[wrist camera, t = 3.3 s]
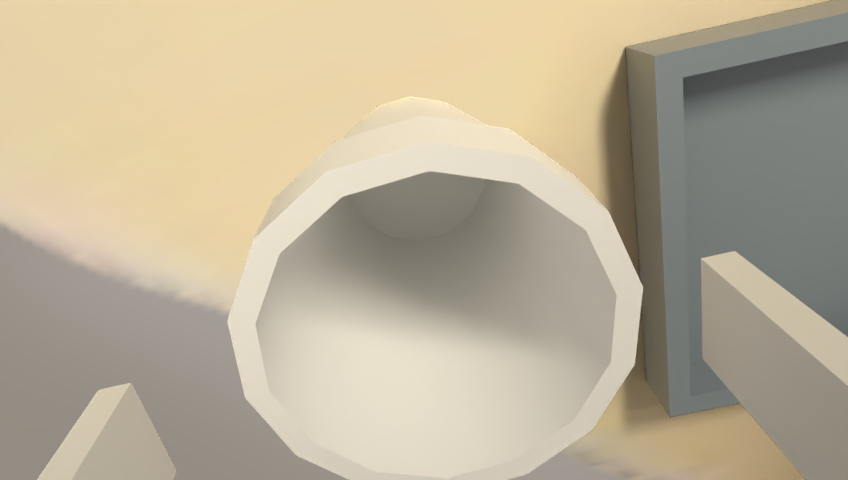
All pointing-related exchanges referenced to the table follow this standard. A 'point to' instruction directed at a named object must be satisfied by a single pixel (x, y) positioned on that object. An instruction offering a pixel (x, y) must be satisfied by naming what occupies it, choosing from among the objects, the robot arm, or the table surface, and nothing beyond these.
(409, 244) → the foam cup
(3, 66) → the table surface
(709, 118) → the slate tray
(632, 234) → the table surface
